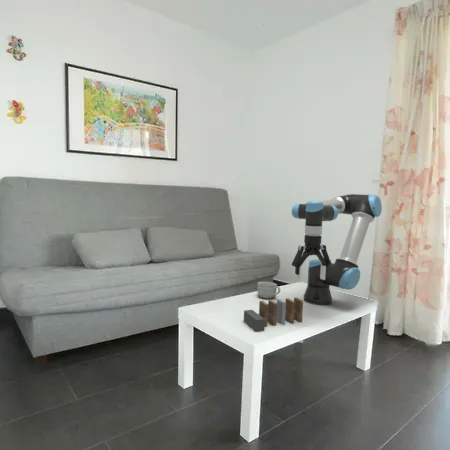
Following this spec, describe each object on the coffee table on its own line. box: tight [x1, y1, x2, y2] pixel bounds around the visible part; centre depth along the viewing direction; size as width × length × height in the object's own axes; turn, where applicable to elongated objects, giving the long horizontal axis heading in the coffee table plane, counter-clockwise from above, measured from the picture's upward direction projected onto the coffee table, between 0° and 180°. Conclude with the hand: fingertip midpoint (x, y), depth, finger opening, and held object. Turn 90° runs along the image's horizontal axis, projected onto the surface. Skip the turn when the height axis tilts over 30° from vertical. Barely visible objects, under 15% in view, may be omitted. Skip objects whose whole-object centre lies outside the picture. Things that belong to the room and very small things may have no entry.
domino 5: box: [293, 297, 304, 323], centre depth 154 cm, size 2×5×10 cm, turn 22°
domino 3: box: [276, 298, 286, 326], centre depth 150 cm, size 2×5×10 cm, turn 22°
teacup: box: [257, 281, 281, 300], centre depth 187 cm, size 14×11×8 cm
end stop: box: [243, 309, 266, 333], centre depth 146 cm, size 4×12×5 cm, turn 22°
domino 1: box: [258, 300, 268, 328], centre depth 147 cm, size 2×5×10 cm, turn 22°
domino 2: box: [267, 299, 277, 327], centre depth 149 cm, size 2×5×10 cm, turn 22°
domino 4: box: [285, 298, 295, 324], centre depth 152 cm, size 2×5×10 cm, turn 22°
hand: (310, 280), depth 155 cm, fingers open, 13 cm apart
